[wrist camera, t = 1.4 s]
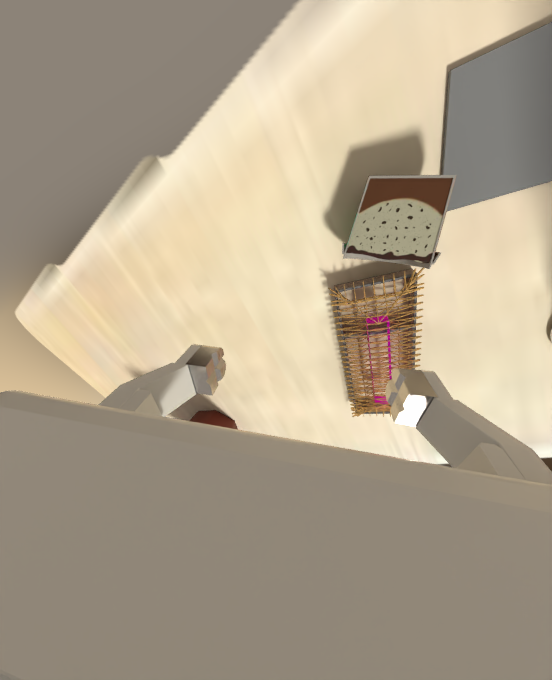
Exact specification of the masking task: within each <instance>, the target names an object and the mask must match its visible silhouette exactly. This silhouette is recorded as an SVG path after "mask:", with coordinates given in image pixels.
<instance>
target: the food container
mask: <svg viewBox="0 0 552 680" xmlns="http://www.w3.org/2000/svg"><path fill="white" fill-rule="evenodd" d="M456 176H457V175H407V176H369V177H368V180H367V183H366V186H365V190H364V193H363V196H362V199H361V202H360V205H359V208H358V212H357V215H356V218H355V221H354V224H353V227H352V230H351V234H350V237H349V240H348V243H347V244H346V243H343V246H342V254H344V256H343V259H345V258H350V259H364V260H375V261H384V262H392V263H399V264H406V265H412V266H418V267H423V268H427V269H430V267H431V265H432V264H434V263H435V262H436V260H437V259H438V257H439V256H440V254H441V253H439V252H435V251H436V247H437V244H438V240H439V237H440V233H441V230H442V226H443V222H444V219H445V215H446V212H447V208H448V205H449V201H450V197H451V194H452V190H453V187H454V183H455V180H456Z"/></svg>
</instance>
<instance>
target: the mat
mask: <svg viewBox="0 0 552 680" xmlns="http://www.w3.org/2000/svg"><path fill="white" fill-rule="evenodd" d="M441 175H457V176H456V180H455V183H454V187H453V190H452V194H451V197H450V201H449V205H448V208H447V211H450V210H454V209H457V208H461V207H464V206H467V205H471V204H474V203H478V202H481V201H485V200H488V199H492V198H495V197H499V196H502V195H505V194H509V193H512V192H516V191H519V190H523V189H526V188H530V187H533V186H537V185H540V184H544V183H547V182H550V181H552V22H551V23H548V24H546V25H544V26H542V27H540V28H538V29H536V30H534V31H532V32H530V33H528V34H525V35H523V36H521V37H519V38H517V39H515V40H513V41H511V42H509V43H507V44H505V45H502V46H500V47H498V48H496V49H494V50H492V51H490V52H488V53H486V54H484V55H482V56H479V57H477V58H475V59H473V60H471V61H469V62H467V63H465V64H463V65H461V66H459V67H456V68H454V69H452V70H451V71H450V72H449V75H448V89H447V103H446V117H445V131H444V145H443V159H442V173H441Z"/></svg>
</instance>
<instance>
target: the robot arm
mask: <svg viewBox="0 0 552 680" xmlns="http://www.w3.org/2000/svg"><path fill="white" fill-rule="evenodd" d="M550 338H551V342H552V329H551V334H550ZM223 355H224V352H223V349H222V348H219V347H212V346H205V345H196V344H193V345H191V346H190V347H189V348H188V349H187V351H186V352H185V353H184V354H183V355H182V356H181V357H180V358H179V359H178V360H177V361H176V362H175V363H170V364H168V365H166V366H163V367H161V368H159V369H156V370H154V371H152V372H150V373H147V374H145V375H143V376H140V377H138V378H136V379H133V380H131V381H129V382H126V383H124V384H122V385H120V386H119V387H118V388H117V389H115V390H114V391H113V392H112V393H111V394H110V395H109V396H108V397H107V398H105V399H104V400H103V401H102V402H101V403H100V404H99V405H95V404H89V403H83V402H78V401H71V400H66V399H61V398H55V397H49V396H43V395H38V394H33V393H28V392H23V391H5V392H1V393H0V680H552V472H551V471H550V469H549V468H548V467H547V466H546V465H545V464H544V462H543V461H542V460H541V459H540V458H539V456H538V455H537V454H536V453H535V452H534V451H533V450H532V449H531V448H529V447H528V446H526V445H525V444H523V443H522V442H520V441H519V440H517V439H516V438H514V437H513V436H511V435H510V434H508V433H507V432H505V431H504V430H502V429H501V428H499V427H497V426H496V425H494V424H493V423H491V422H490V421H488V420H487V419H485V418H484V417H482V416H481V415H479V414H478V413H476V412H475V411H473V410H472V409H470V408H469V407H467V406H466V405H464V404H463V403H461V402H460V401H458V400H453V398H452V397H451V395H450V394H449V392H448V391H447V389H446V388H445V386H444V385H443V384H442V382H441V381H440V379H439V378H438V376H437V375H436V373H435V372H433V371H425V370H411V369H402V368H394V369H393V370H392V373H391V376H392V379H391V380H390V381H388V383H387V385H386V391H385V394H386V399H387V402H388V403H389V404H390V405H391V406H392V407H391V409H390V412H391V415H392V418H393V421H394V423H397V424H403V425H408V426H414V427H416V429H417V430H418V431H419V432H420V433H421V434H422V435H423V436H424V437H425V438H426V439H427V440H428V441H429V442H430V444H431V445H432V446H433V447H434V448H435V449H436V450H437V451H438V452H439V453H440V454H441V455H442V456H443V457H444V459H445V460H446V461H447V462H448V463H449V464H450V465H451V466H452V467H447V466H441V465H436V464H430V463H425V462H419V461H413V460H408V459H402V458H396V457H391V456H385V455H379V454H374V453H368V452H362V451H356V450H351V449H345V448H339V447H334V446H328V445H322V444H317V443H311V442H305V441H300V440H294V439H288V438H283V437H277V436H271V435H266V434H260V433H254V432H248V431H243V430H237V429H231V428H226V427H220V426H214V425H209V424H203V423H197V422H192V421H186V420H180V419H175V418H169V417H165V416H167V415H168V414H169V413H171V412H172V411H174V410H175V409H176V408H178V407H179V406H181V405H182V404H183V403H185V402H186V401H188V400H189V399H190V398H192V397H193V396H195V395H196V393H198V394H206V395H213V394H214V392H215V390H216V389H217V387H218V381H220V380H221V379H222V378H223V376H224V374H225V370H226V364H225V361H224V360H223V358H222V357H223Z"/></svg>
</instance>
